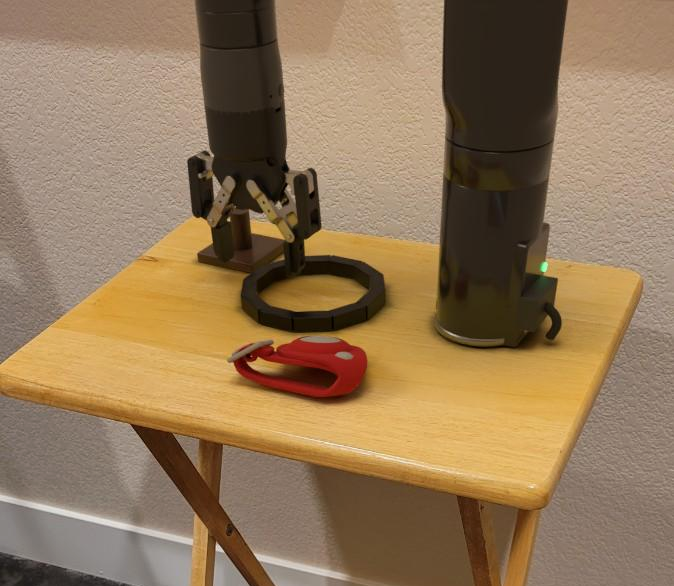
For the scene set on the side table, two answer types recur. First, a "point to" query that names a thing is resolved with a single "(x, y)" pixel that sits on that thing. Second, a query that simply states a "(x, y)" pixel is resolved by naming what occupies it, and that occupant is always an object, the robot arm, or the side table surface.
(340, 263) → the ring
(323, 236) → the side table surface
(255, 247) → the ring holder
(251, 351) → the tracker holder
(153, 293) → the side table surface
